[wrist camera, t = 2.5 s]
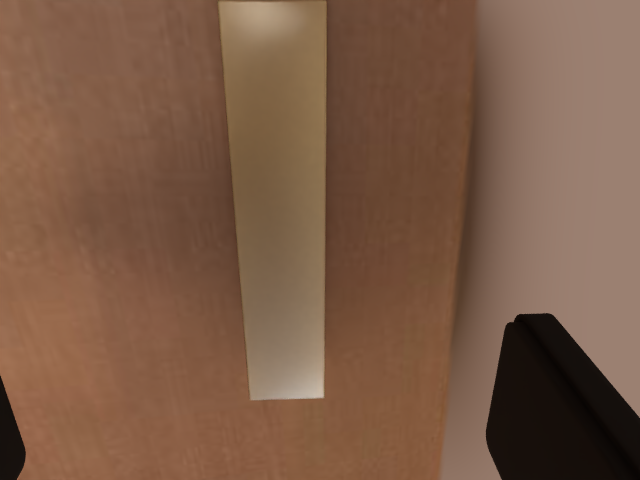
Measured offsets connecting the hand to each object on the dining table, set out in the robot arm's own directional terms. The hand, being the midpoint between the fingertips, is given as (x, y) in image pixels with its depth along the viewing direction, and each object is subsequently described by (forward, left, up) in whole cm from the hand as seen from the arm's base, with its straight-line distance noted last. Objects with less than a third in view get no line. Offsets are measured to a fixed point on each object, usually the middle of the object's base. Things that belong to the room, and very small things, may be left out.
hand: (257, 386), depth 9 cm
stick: (0, 0, -8) cm, 8 cm away
